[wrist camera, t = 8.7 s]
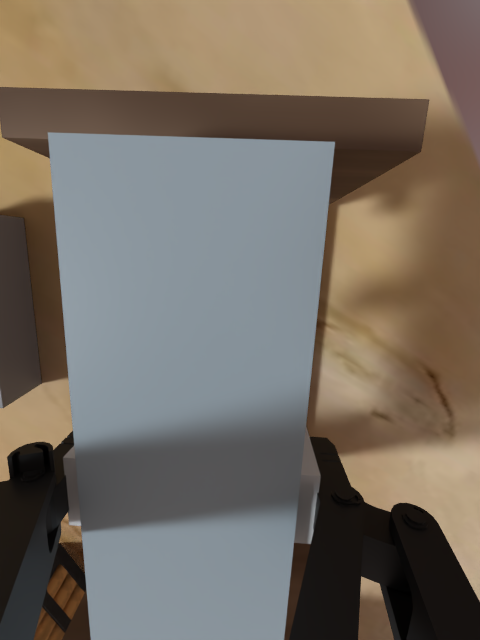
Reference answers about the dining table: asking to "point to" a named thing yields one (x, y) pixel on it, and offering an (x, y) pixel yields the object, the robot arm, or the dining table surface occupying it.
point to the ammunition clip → (60, 597)
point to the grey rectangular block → (16, 315)
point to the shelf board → (189, 372)
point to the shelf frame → (226, 122)
